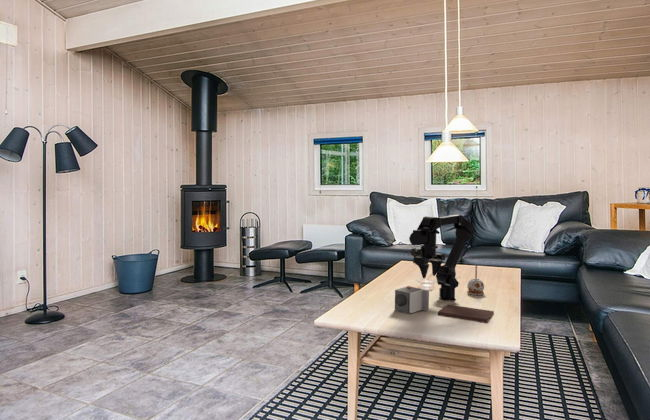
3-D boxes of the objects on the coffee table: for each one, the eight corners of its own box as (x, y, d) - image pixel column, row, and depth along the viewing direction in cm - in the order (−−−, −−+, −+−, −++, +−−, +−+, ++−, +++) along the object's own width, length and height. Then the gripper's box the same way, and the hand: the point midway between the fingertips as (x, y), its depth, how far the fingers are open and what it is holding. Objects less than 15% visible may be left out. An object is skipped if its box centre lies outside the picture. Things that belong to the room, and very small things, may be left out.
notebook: (447, 307, 194) (447, 303, 194) (493, 314, 184) (493, 310, 184) (437, 316, 181) (438, 311, 181) (487, 324, 171) (487, 319, 171)
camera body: (407, 305, 194) (408, 284, 194) (421, 309, 189) (421, 287, 189) (392, 310, 186) (393, 289, 186) (406, 314, 181) (406, 291, 181)
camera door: (421, 308, 189) (422, 289, 188) (428, 310, 186) (429, 290, 186) (409, 312, 182) (409, 293, 182) (416, 314, 180) (416, 294, 179)
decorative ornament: (474, 296, 212) (475, 266, 211) (464, 292, 219) (464, 263, 218) (487, 295, 215) (488, 265, 214) (476, 291, 222) (477, 262, 221)
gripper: (425, 240, 211) (425, 271, 212) (403, 243, 198) (402, 277, 199) (446, 242, 203) (445, 275, 204) (424, 246, 190) (423, 281, 191)
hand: (429, 276), depth 200 cm, fingers open, 8 cm apart
